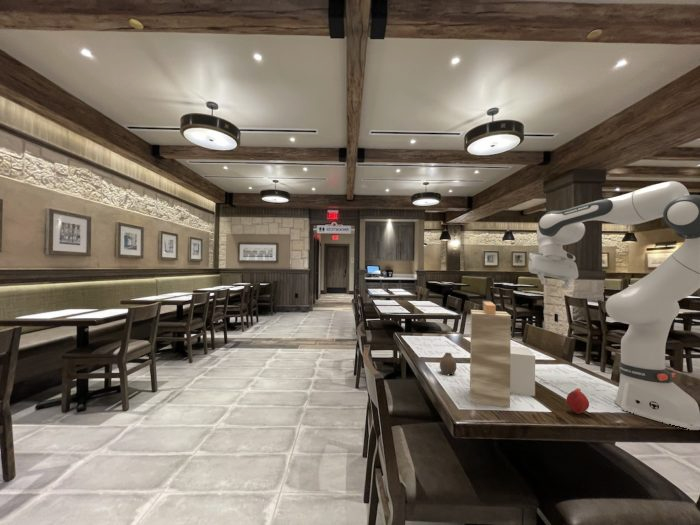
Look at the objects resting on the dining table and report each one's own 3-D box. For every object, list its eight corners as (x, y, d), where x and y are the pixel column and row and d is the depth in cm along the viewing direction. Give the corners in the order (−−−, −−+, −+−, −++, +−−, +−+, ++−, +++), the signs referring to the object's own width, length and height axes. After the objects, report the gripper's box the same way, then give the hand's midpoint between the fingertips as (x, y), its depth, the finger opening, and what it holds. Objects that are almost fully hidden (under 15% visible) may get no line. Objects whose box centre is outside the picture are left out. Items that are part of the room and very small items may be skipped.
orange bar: (482, 308, 128) (482, 300, 128) (490, 308, 127) (490, 301, 127) (486, 313, 110) (486, 305, 110) (495, 314, 109) (495, 305, 110)
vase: (458, 376, 137) (458, 355, 137) (442, 376, 137) (442, 355, 137) (453, 371, 144) (453, 351, 144) (437, 370, 144) (438, 351, 144)
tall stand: (469, 389, 122) (470, 309, 122) (505, 394, 118) (505, 311, 118) (470, 401, 110) (472, 313, 111) (509, 407, 106) (510, 315, 107)
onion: (579, 418, 99) (579, 392, 99) (562, 410, 105) (562, 385, 105) (593, 416, 101) (593, 390, 101) (575, 408, 106) (575, 384, 106)
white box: (494, 380, 132) (495, 345, 133) (527, 384, 129) (528, 347, 129) (498, 391, 120) (498, 352, 121) (534, 396, 116) (535, 355, 117)
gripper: (533, 247, 132) (537, 279, 127) (578, 257, 135) (583, 288, 129) (523, 253, 138) (526, 284, 133) (566, 262, 140) (571, 292, 135)
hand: (555, 286), depth 131 cm, fingers open, 8 cm apart
